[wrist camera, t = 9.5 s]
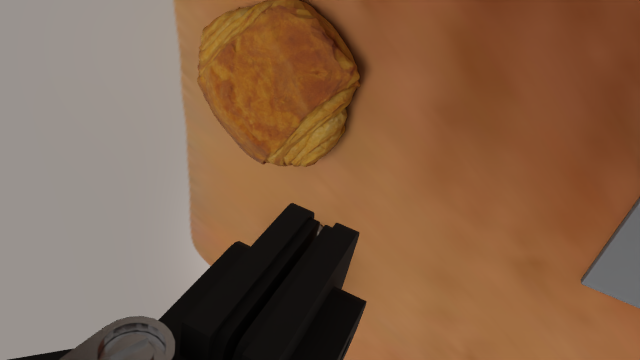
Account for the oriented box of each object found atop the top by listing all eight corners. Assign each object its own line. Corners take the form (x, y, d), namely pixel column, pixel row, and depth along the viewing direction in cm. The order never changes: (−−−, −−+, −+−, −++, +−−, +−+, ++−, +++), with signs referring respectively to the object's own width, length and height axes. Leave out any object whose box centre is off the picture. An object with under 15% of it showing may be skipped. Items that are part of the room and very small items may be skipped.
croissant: (292, 161, 52) (260, 206, 46) (193, 42, 47) (143, 74, 41) (402, 99, 43) (381, 144, 37) (294, -53, 39) (251, -29, 33)
